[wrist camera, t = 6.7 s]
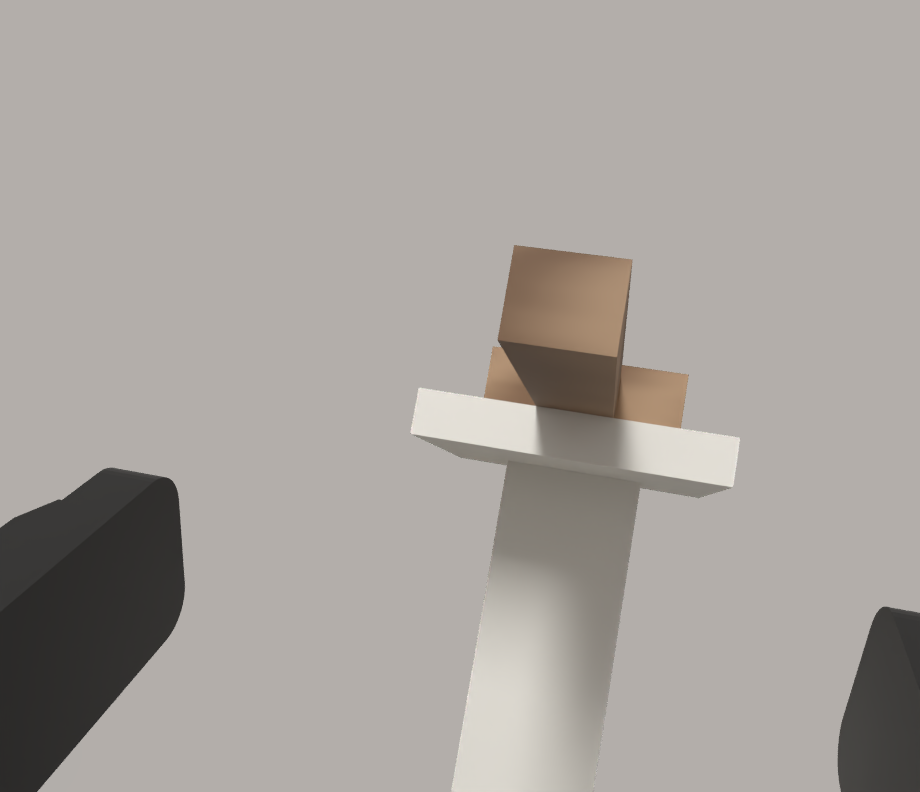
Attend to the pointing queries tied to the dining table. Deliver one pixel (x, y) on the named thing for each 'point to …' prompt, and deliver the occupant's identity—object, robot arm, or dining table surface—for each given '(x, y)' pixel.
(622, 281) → the tan angular block
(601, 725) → the white pedestal stand
